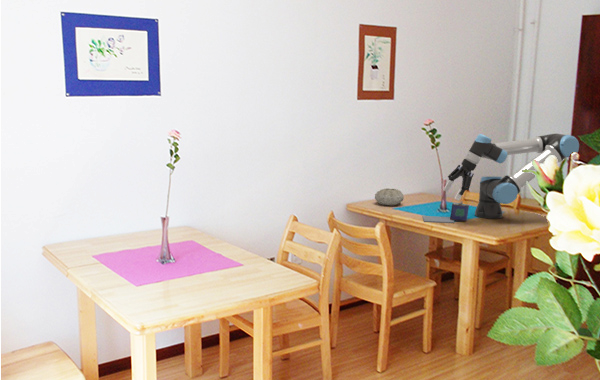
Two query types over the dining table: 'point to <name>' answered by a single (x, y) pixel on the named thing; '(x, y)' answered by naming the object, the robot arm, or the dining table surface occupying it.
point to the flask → (459, 212)
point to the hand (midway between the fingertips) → (450, 195)
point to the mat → (437, 219)
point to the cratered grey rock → (389, 196)
